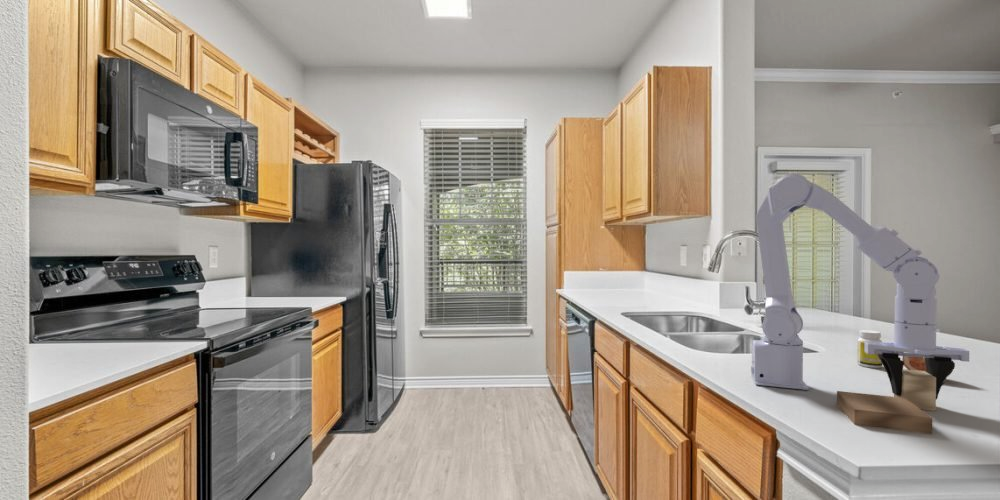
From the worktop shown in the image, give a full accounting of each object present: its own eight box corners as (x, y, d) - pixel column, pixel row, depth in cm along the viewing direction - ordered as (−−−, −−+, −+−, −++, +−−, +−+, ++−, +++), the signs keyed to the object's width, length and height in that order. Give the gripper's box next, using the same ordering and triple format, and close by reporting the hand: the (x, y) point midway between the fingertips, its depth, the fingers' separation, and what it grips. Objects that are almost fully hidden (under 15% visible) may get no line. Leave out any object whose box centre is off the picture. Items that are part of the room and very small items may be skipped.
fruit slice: (897, 376, 102) (898, 354, 102) (908, 372, 106) (908, 350, 106) (949, 386, 95) (949, 362, 95) (958, 381, 99) (958, 358, 99)
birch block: (903, 407, 83) (904, 374, 83) (893, 399, 87) (894, 368, 87) (935, 411, 81) (936, 377, 81) (924, 402, 86) (924, 371, 85)
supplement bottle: (887, 369, 108) (887, 333, 108) (864, 368, 109) (864, 333, 109) (874, 363, 113) (875, 329, 113) (853, 362, 114) (853, 329, 114)
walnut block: (854, 427, 76) (854, 409, 76) (836, 406, 85) (837, 390, 85) (932, 437, 72) (932, 418, 72) (904, 414, 81) (905, 397, 81)
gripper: (874, 323, 83) (873, 397, 83) (979, 329, 78) (978, 408, 78) (860, 317, 90) (860, 386, 90) (957, 322, 84) (956, 395, 84)
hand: (914, 395), depth 84 cm, fingers closed on birch block, 4 cm apart
